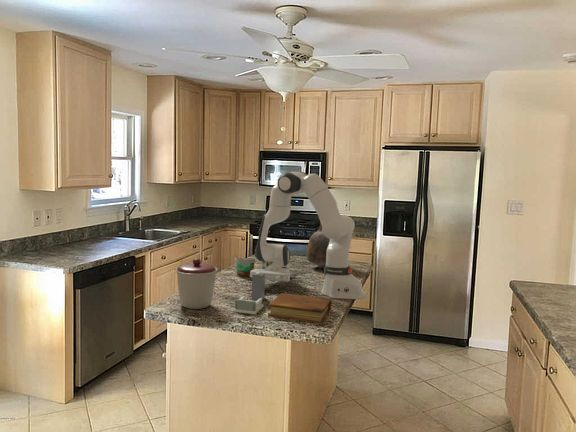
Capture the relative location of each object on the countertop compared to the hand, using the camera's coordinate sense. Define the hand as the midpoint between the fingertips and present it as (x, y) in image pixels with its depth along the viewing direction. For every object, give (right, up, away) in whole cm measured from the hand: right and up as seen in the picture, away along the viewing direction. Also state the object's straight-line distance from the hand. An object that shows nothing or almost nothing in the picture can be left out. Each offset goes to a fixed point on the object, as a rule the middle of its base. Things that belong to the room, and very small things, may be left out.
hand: (265, 278), depth 231 cm
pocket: (-6, -10, -26) cm, 29 cm away
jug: (+33, -2, +60) cm, 69 cm away
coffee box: (+1, -3, +42) cm, 42 cm away
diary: (+16, -12, -28) cm, 35 cm away
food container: (-14, -3, +33) cm, 36 cm away
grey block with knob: (-3, -8, -11) cm, 14 cm away
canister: (-30, -9, -25) cm, 39 cm away
